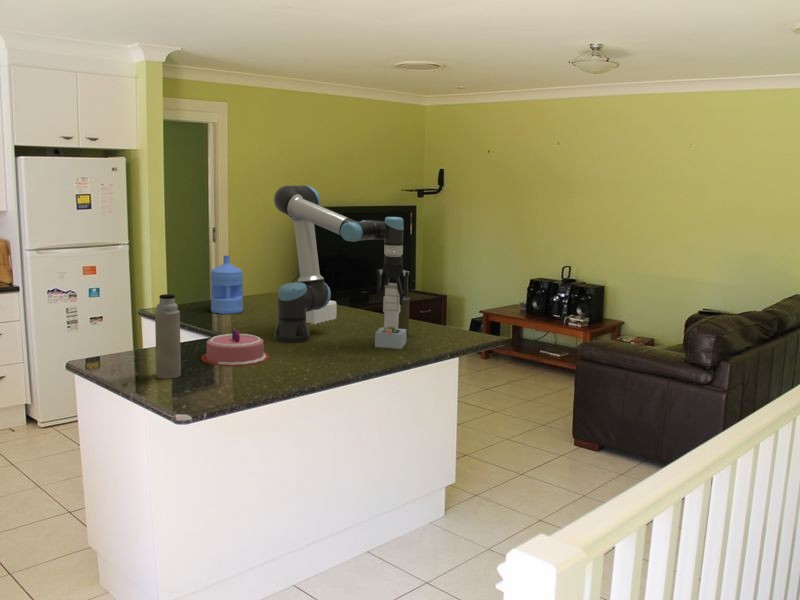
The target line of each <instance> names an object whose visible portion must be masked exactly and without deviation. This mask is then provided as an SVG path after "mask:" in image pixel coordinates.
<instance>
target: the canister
mask: <svg viewBox="0 0 800 600" xmlns="http://www.w3.org/2000/svg"><path fill="white" fill-rule="evenodd" d="M410 300H411V297H409V296H404V297H403V304H402V305H400V313H399V321H398V329H407V332H406V338H407V337H408V336H409V332H410V331H409V329H410V328H409V327H410Z"/></svg>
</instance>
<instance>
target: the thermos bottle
mask: <svg viewBox="0 0 800 600" xmlns="http://www.w3.org/2000/svg"><path fill="white" fill-rule="evenodd" d="M178 308H179V306H178V304H177V303H176V301H175V294H169V293H166V294H165V293H164V294H159V302H158V304H156V311H154V323H155V330H154V331H155V363H156V365H155V366H156V367H155V368H156V377H157V378H159V379H164V380H165V379H166V380H167V379H176V378H180V376H181V375H182V364H181V363H182V361H181V360H182V358H181V357H182V356H181V353H182V352H181V314H180V312H181V311H180V310H178Z"/></svg>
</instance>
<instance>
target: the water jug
mask: <svg viewBox="0 0 800 600" xmlns="http://www.w3.org/2000/svg"><path fill="white" fill-rule="evenodd" d="M230 257H231V256H230V255H223V264H220V265H218V266H217V267H214V268H212V269H211V270H210V296H211V298H210V299H211V301H210V302H211V303H210V304H211V305H210V311H211V313H214V314H216V313H218V315H235V314H234V313H236V314H240V313H242V312H243V311H244V305H243V304H244V302H243V300H244V289H243V288H244V287H243V285H244V284H243V281H244V280H243V279H244V276H243V275H244V273H243V272H244V271H243V270H242V269H241V268H238V266H237V267H236V266H235V265H233V264H232V263H231V259H230Z"/></svg>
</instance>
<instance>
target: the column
mask: <svg viewBox="0 0 800 600" xmlns="http://www.w3.org/2000/svg"><path fill="white" fill-rule="evenodd" d="M398 297H399V292H398V285H397V283H394V282H388V284H387V285H385V309H384V311H385V312H383V313H384V315H383V317H384V318H383V319H384V320H383V321H384V322H383V328H384V331H385V330H386V329H392V332H397V331H398V321H399V313H397V304H398Z"/></svg>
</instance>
